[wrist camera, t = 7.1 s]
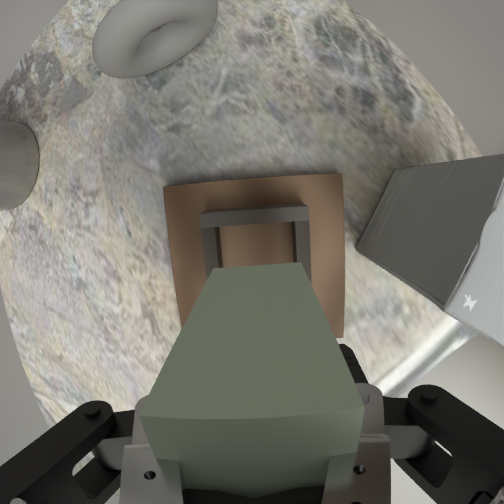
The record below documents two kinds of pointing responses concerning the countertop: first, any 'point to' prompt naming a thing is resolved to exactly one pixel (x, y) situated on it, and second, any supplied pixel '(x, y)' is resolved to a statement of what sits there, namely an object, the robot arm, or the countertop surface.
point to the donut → (156, 44)
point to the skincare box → (446, 238)
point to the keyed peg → (254, 387)
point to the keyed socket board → (259, 233)
